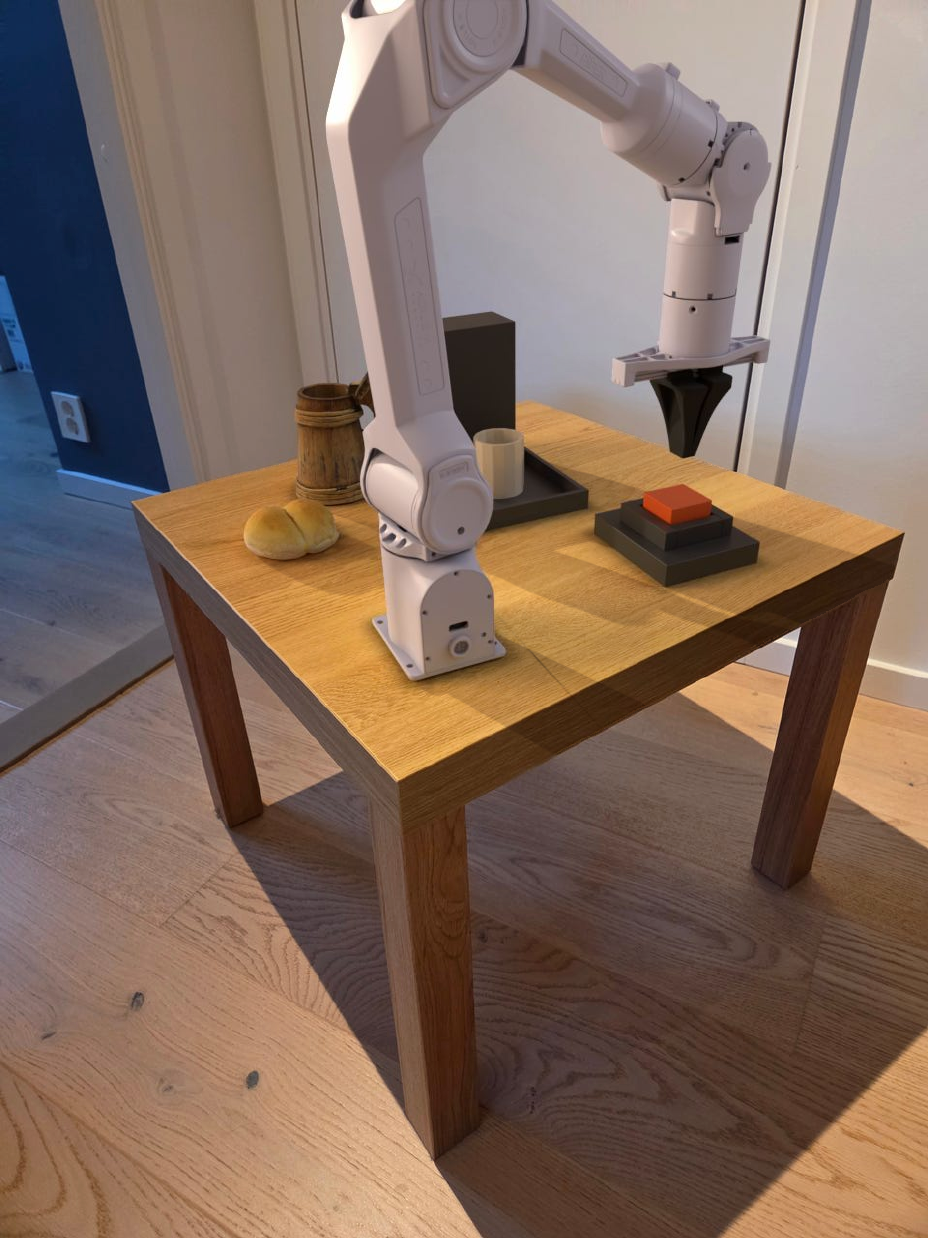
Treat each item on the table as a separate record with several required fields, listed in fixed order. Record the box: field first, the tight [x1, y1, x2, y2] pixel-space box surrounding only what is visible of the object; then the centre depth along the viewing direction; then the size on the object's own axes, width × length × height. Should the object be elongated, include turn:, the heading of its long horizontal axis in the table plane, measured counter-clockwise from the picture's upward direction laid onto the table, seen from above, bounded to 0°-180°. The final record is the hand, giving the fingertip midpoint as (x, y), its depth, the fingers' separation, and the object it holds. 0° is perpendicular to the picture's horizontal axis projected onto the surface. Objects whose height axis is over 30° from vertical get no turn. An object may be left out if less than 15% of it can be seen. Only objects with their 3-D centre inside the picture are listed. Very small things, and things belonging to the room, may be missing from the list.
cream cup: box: [473, 428, 525, 499], centre depth 91 cm, size 5×5×6 cm
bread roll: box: [243, 498, 340, 561], centre depth 83 cm, size 8×9×4 cm
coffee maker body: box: [442, 310, 517, 443], centre depth 97 cm, size 6×12×16 cm, turn 114°
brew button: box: [643, 483, 713, 525], centre depth 78 cm, size 4×4×2 cm
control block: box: [593, 497, 761, 588], centre depth 80 cm, size 12×10×4 cm
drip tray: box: [484, 445, 590, 533], centre depth 92 cm, size 15×13×2 cm
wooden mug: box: [294, 371, 376, 506], centre depth 90 cm, size 9×14×18 cm, turn 82°
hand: (682, 453), depth 76 cm, fingers closed
